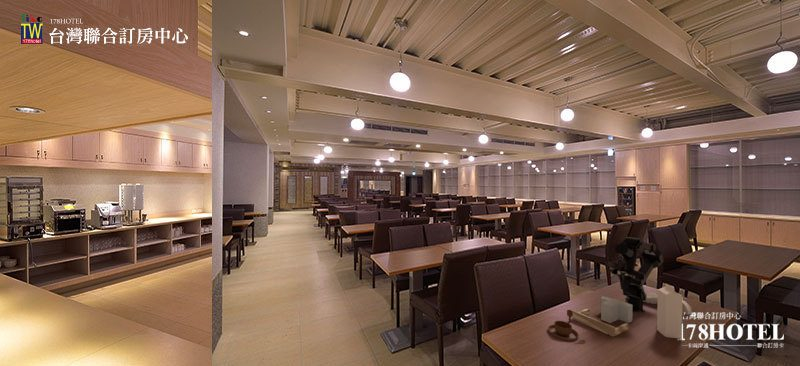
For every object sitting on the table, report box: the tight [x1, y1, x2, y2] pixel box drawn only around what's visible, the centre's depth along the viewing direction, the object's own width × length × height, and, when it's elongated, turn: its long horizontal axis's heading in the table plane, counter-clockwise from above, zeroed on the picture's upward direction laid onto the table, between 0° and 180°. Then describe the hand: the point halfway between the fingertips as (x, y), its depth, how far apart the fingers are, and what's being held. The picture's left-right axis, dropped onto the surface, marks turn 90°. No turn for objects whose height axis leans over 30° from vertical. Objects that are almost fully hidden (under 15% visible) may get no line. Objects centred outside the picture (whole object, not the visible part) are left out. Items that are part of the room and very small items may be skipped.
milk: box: [656, 283, 683, 340], centre depth 127 cm, size 6×6×22 cm
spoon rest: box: [643, 291, 693, 316], centre depth 156 cm, size 24×12×7 cm, turn 28°
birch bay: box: [571, 308, 629, 337], centre depth 136 cm, size 13×18×4 cm
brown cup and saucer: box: [547, 309, 586, 345], centre depth 129 cm, size 18×20×6 cm
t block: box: [600, 295, 633, 324], centre depth 142 cm, size 12×12×8 cm
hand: (622, 289), depth 146 cm, fingers closed
